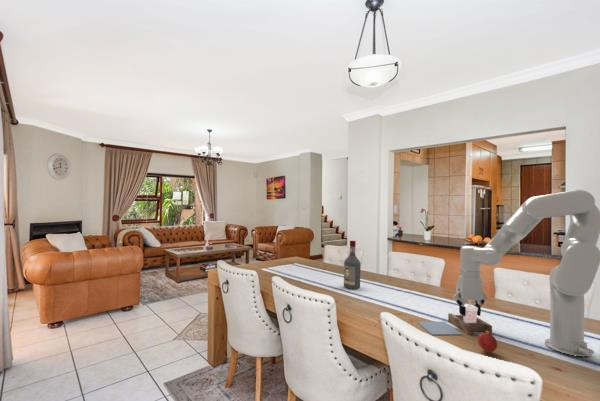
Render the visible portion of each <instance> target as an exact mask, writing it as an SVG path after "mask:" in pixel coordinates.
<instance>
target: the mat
mask: <svg viewBox="0 0 600 401" xmlns="http://www.w3.org/2000/svg"><path fill="white" fill-rule="evenodd" d="M416 323H417V324H418V325H419V326H420V327H421V328H423V329H424V330H425V331H426V332H428V333H429V334H430V335H432V336H463V333H461V331H458V329H456V328H455V327H453V326H451V325H450V324H449V323H447V322H446V321H416Z"/></svg>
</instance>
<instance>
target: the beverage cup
mask: <svg viewBox="0 0 600 401" xmlns="http://www.w3.org/2000/svg"><path fill="white" fill-rule="evenodd" d="M468 302H469V304H465V305H464V307H465V308H466V315H465V316H463V320H464V322H466V323H476V321H477V318H478V315H477V311H478V308H477V307H476V306H474V305H473V304H471V303H472V302H471V301H468Z"/></svg>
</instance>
